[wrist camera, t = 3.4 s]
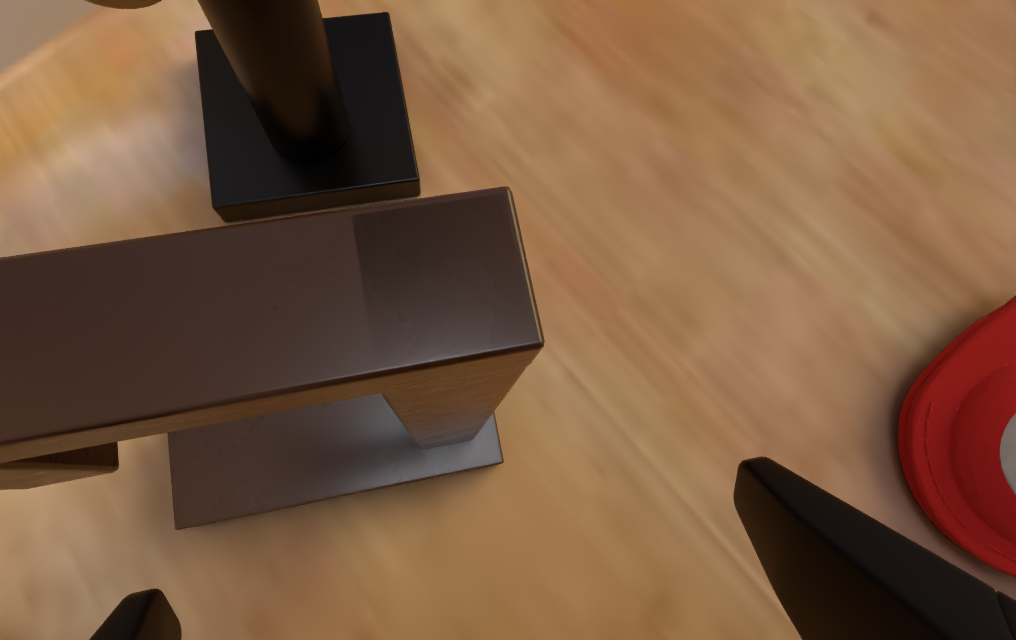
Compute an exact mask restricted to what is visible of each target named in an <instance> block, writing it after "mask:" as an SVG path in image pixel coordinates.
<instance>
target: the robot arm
mask: <svg viewBox="0 0 1016 640" xmlns="http://www.w3.org/2000/svg"><path fill="white" fill-rule="evenodd" d="M734 504H735V507H736V510H737V512H738V515H739V517H740V519H741V521H742V523H743V525H744V528H745V530H746V532H747V534H748V536H749V538H750V540H751V543H752V545H753V547H754V549H755V551H756V553H757V555H758V558H759V560H760V562H761V564H762V566H763V568H764V571H765V573H766V575H767V577H768V579H769V581H770V583H771V585H772V587H773V589H774V591H775V593H776V595H777V597H778V599H779V601H780V602H781V604H782V606H783V608H784V610H785V611H786V613H787V615H788V616H789V618H790V620H791V621H792V623H793V625H794V626H795V628H796V630H797V631H798V633H799V635H800V636H801V638H802V640H1016V600H1014V599H1012V598H1010V597H1009V596H1007V595H1005V594H1003V593H1002V592H999V591H997V592H995V590H994V589H993V587H991V586H989V585H988V584H986V583H984V582H982V581H981V580H979V579H977V578H975V577H974V576H972V575H970V574H968V573H967V572H965V571H963V570H962V569H960V568H958V567H956V566H955V565H953V564H951V563H949V562H948V561H946V560H944V559H943V558H941V557H939V556H937V555H936V554H934V553H932V552H930V551H929V550H927V549H925V548H923V547H922V546H920V545H918V544H917V543H915V542H913V541H911V540H910V539H908V538H906V537H904V536H903V535H901V534H899V533H898V532H896V531H894V530H892V529H891V528H889V527H887V526H885V525H884V524H882V523H880V522H878V521H877V520H875V519H873V518H872V517H870V516H868V515H866V514H865V513H863V512H861V511H859V510H858V509H856V508H854V507H853V506H851V505H849V504H847V503H846V502H844V501H842V500H840V499H839V498H837V497H835V496H834V495H832V494H830V493H828V492H827V491H825V490H823V489H821V488H820V487H818V486H816V485H814V484H813V483H811V482H809V481H808V480H806V479H804V478H802V477H801V476H799V475H797V474H795V473H794V472H792V471H790V470H789V469H787V468H785V467H783V466H782V465H780V464H778V463H776V462H775V461H773V460H771V459H769V458H767V457H756V458H752V459H747V460H743V461H741V463H740V464H739V466H738V471H737V477H736V483H735V489H734ZM181 636H182V635H181V626H180V622H179V620H178V618H177V616H176V614H175V613H174V611H173V609H172V607H171V606H170V604H169V602H168V601H167V599H166V597H165V595H164V594H163V592H162V591H161V590H159V589H150V590H145V591H140V592H136V593H132V594H129V595H128V596H126V597H125V598H124V599H123V600H122V601H121V602H120V603H119V605H118V606H117V607H116V608H115V609H114V611H113V612H112V613H111V614H110V615H109V617H108V618H107V619H106V620H105V621H104V623H103V624H102V625H101V626H100V627H99V629H98V630H97V631H96V632H95V634H94V635H93V636H92V637H91V638H90V640H181Z"/></svg>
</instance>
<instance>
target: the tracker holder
mask: <svg viewBox="0 0 1016 640" xmlns="http://www.w3.org/2000/svg"><path fill="white" fill-rule="evenodd" d="M898 446H899V454H900V459H901V464H902V469H903V471H904V474H905V477H906V480H907V483H908V485H909V487H910V489H911V491H912V493H913V495H914V497H915V499H916V500H917V502H918V503H919V504H920V506H921V507H922V509H923V510H924V512H925V513H926V515H927V516H928V517H929V518H930V520H931V521H932V522H933V523H934V524H935V525H936V526H937V527H938V528H939V529H940V530H941V531H942V532H943V533H944V534H945V535H946V536H947V537H949V538H950V539H951V540H952V541H953V542H955V543H956V544H957V545H958V546H960V547H961V548H963V549H964V550H966V551H968V552H969V553H971V554H972V555H974V556H975V557H977V558H979V559H980V560H982V561H983V562H985V563H987V564H988V565H990V566H992V567H993V568H995V569H998V570H1000V571H1002V572H1004V573H1007V574H1009V575H1011V576H1014V577H1016V296H1015V297H1013V298H1012V299H1011V300H1010V301H1008V302H1007V303H1006V304H1004V305H1003V306H1001V307H1000V308H998V309H996V310H995V311H993V312H992V313H990V314H989V315H987V316H985V317H984V318H982V319H980V320H978V321H976V322H975V323H974V324H972V325H971V326H970V327H969V328H967V329H966V330H965V331H964V332H962V333H961V334H960V335H958V336H957V337H956V338H955V339H954V340H953V341H952V342H951V343H950V344H949V345H948V346H947V347H946V348H945V349H944V350H943V351H942V352H941V353H940V354H939V355H937V356H936V357H935V358H934V359H933V360H932V361H931V363H930V364H929V365H928V366H927V367H926V368H925V369H924V371H923V372H922V373H921V374H920V375H919V376H918V378H917V379H916V381H915V382H914V384H913V385H912V387H911V388H910V390H909V391H908V393H907V395H906V398H905V400H904V402H903V404H902V408H901V413H900V418H899V428H898Z"/></svg>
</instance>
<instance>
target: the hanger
mask: <svg viewBox="0 0 1016 640" xmlns="http://www.w3.org/2000/svg"><path fill="white" fill-rule="evenodd" d="M543 346H544V336H543V332H542V327H541V323H540V318H539V314H538V309H537V304H536V300H535V295H534V291H533V286H532V281H531V277H530V272H529V268H528V263H527V259H526V254H525V249H524V245H523V240H522V236H521V231H520V226H519V222H518V217H517V213H516V208H515V204H514V199H513V194H512V191H511V190H510V188H509V187H498V188H491V189H484V190H477V191H470V192H462V193H455V194H448V195H441V196H434V197H427V198H420V199H413V200H406V201H399V202H392V203H385V204H377V205H370V206H363V207H356V208H349V209H342V210H335V211H328V212H321V213H314V214H307V215H300V216H293V217H285V218H278V219H271V220H264V221H257V222H250V223H243V224H236V225H229V226H222V227H215V228H208V229H201V230H193V231H186V232H179V233H172V234H165V235H158V236H151V237H144V238H137V239H130V240H123V241H116V242H109V243H101V244H94V245H87V246H80V247H73V248H66V249H59V250H52V251H45V252H38V253H31V254H24V255H16V256H9V257H2V258H0V490H6V489H29V488H34V487H39V486H45V485H50V484H55V483H60V482H66V481H71V480H76V479H82V478H87V477H92V476H97V475H103V474H108V473H113V472H114V471H116V470H118V467H119V460H118V444H117V442H118V441H123V440H129V439H134V438H140V437H145V436H151V435H156V434H162V433H167V432H168V444H169V456H170V469H171V482H172V495H173V508H174V521H175V529H176V530H180V529H185V528H191V527H196V526H201V525H206V524H211V523H216V522H221V521H226V520H230V519H235V518H240V517H245V516H250V515H255V514H260V513H265V512H269V511H274V510H279V509H284V508H289V507H294V506H299V505H303V504H308V503H313V502H318V501H323V500H328V499H333V498H338V497H342V496H347V495H352V494H357V493H362V492H367V491H372V490H377V489H381V488H386V487H391V486H396V485H401V484H406V483H411V482H416V481H420V480H425V479H430V478H435V477H440V476H445V475H450V474H455V473H459V472H464V471H469V470H474V469H479V468H484V467H489V466H494V465H498V464H502V463H503V462H504V460H503V455H502V450H501V445H500V440H499V435H498V429H497V424H496V419H495V414H494V411H495V410H496V408H497V407H498V405H499V404H500V403H501V401H502V400H503V399H504V397H505V396H506V395H507V393H508V392H509V390H510V389H511V388H512V386H513V385H514V384H515V382H516V381H517V380H518V378H519V377H520V375H521V374H522V373H523V371H524V370H525V369H526V367H527V366H528V365H530V364H531V363H532V361H533V360H534V359H535V357H536V356H537V355H538V353H539V352H540V351H541V349H542V348H543Z"/></svg>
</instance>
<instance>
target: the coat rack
mask: <svg viewBox="0 0 1016 640" xmlns="http://www.w3.org/2000/svg"><path fill="white" fill-rule="evenodd" d="M85 1H88V2H90V3H93V4H97V5H100V6H104V7H110V8H117V9H137V8H144V7H148V6H151V5H153V4H156V3H158V2H160V1H161V0H85ZM198 2H199V4H200V6H201V8H202V10H203V12H204V14H205V16H206V17H207V19H208V21H209V23H210V25H211V27H212V29H211V30H201V31H196V32H195V42H196V51H197V61H198V71H199V81H200V91H201V100H202V110H203V120H204V130H205V140H206V150H207V159H208V169H209V179H210V189H211V199H212V207H213V209H214V210H215V211H216V212H217V214H218V215H219V216H220V217H221V218H222V220H223V221H224V222H233V221H240V220H248V219H255V218H262V217H269V216H276V215H283V214H290V213H297V212H304V211H311V210H318V209H325V208H333V207H340V206H347V205H354V204H361V203H368V202H375V201H382V200H389V199H396V198H403V197H410V196H418V195H420V193H421V191H420V178H419V173H418V167H417V162H416V157H415V151H414V146H413V140H412V135H411V129H410V124H409V118H408V113H407V107H406V102H405V97H404V91H403V86H402V80H401V75H400V69H399V64H398V58H397V53H396V48H395V42H394V37H393V31H392V26H391V20H390V15H389V13H388V12H382V13H372V14H362V15H352V16H342V17H332V18H322V15H321V11H320V7H319V3H318V0H198Z"/></svg>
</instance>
